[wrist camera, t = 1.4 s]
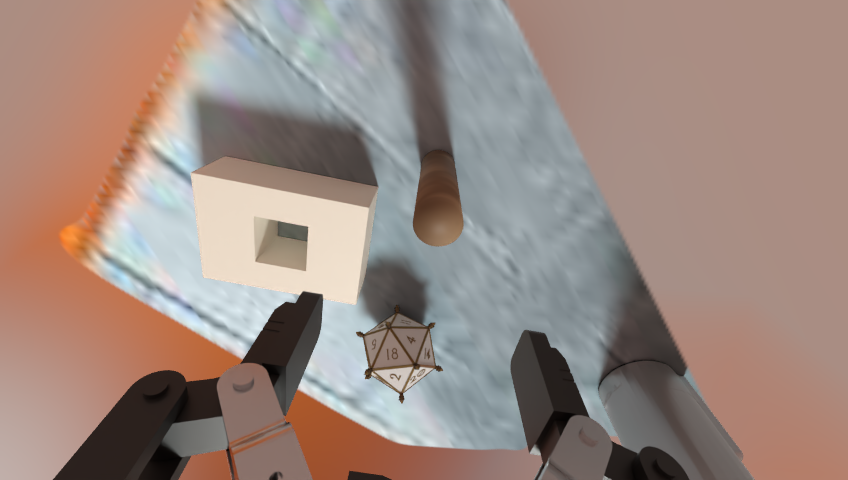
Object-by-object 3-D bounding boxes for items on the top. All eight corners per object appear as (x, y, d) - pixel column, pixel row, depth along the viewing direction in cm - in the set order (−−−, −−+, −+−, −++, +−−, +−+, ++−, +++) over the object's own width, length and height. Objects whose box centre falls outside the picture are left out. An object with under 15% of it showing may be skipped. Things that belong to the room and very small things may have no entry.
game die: (412, 293, 43) (453, 310, 34) (423, 359, 44) (466, 393, 35) (339, 314, 39) (364, 339, 30) (353, 385, 40) (381, 431, 31)
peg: (458, 153, 31) (469, 206, 20) (450, 185, 32) (456, 250, 22) (425, 146, 31) (418, 195, 20) (418, 179, 32) (408, 241, 22)
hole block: (378, 186, 33) (369, 207, 28) (365, 275, 37) (355, 304, 33) (225, 156, 32) (190, 172, 27) (231, 250, 36) (203, 277, 32)
